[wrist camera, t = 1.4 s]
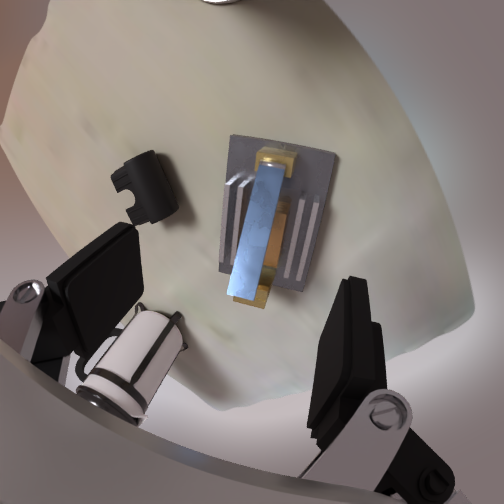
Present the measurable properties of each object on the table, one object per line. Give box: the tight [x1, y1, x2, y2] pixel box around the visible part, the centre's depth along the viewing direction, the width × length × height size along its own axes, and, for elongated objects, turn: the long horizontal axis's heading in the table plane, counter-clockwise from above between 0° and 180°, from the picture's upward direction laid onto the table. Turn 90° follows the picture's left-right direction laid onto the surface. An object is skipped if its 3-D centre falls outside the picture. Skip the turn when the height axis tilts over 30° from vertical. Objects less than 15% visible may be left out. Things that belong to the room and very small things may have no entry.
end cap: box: [111, 150, 179, 226], centre depth 42 cm, size 10×7×7 cm
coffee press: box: [75, 302, 188, 427], centre depth 49 cm, size 17×16×30 cm
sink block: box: [219, 134, 335, 309], centre depth 39 cm, size 22×14×9 cm, turn 173°
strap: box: [227, 160, 286, 301], centre depth 32 cm, size 16×3×1 cm
